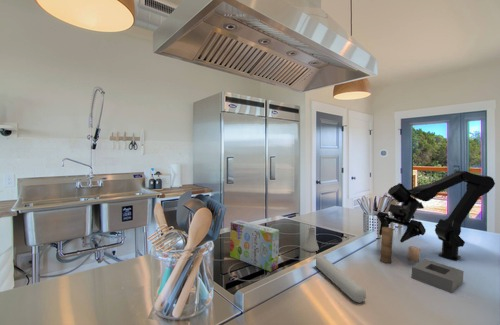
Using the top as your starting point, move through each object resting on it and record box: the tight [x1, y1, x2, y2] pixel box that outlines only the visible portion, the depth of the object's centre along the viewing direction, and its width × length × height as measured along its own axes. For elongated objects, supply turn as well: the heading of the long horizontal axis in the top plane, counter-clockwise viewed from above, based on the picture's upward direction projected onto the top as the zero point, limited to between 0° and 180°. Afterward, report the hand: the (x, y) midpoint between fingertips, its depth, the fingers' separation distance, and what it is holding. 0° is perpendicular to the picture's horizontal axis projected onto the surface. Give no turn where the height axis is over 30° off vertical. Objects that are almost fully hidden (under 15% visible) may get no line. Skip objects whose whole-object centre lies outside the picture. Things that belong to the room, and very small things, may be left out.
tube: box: [313, 254, 367, 304], centre depth 88 cm, size 5×5×25 cm
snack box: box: [229, 219, 280, 273], centre depth 103 cm, size 21×6×15 cm, turn 52°
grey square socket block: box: [411, 258, 465, 293], centre depth 92 cm, size 12×12×4 cm
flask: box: [302, 226, 320, 253], centre depth 117 cm, size 7×7×10 cm
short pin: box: [407, 245, 421, 263], centre depth 109 cm, size 4×4×5 cm
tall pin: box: [379, 226, 394, 265], centre depth 106 cm, size 4×4×14 cm
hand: (390, 238), depth 107 cm, fingers open, 9 cm apart
